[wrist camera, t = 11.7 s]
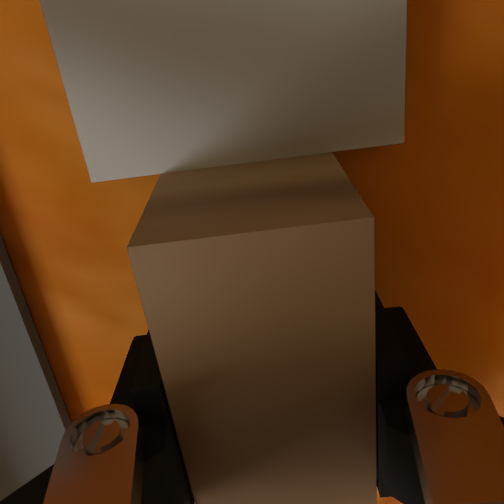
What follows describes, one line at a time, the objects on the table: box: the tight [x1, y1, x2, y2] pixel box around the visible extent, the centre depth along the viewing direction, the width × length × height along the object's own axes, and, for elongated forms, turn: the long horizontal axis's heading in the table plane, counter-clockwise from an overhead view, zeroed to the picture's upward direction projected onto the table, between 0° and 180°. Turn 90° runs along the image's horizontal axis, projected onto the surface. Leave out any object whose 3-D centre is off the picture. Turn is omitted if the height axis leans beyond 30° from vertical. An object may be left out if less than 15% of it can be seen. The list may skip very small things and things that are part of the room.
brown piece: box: [40, 0, 407, 504], centre depth 9 cm, size 14×6×4 cm, turn 7°
